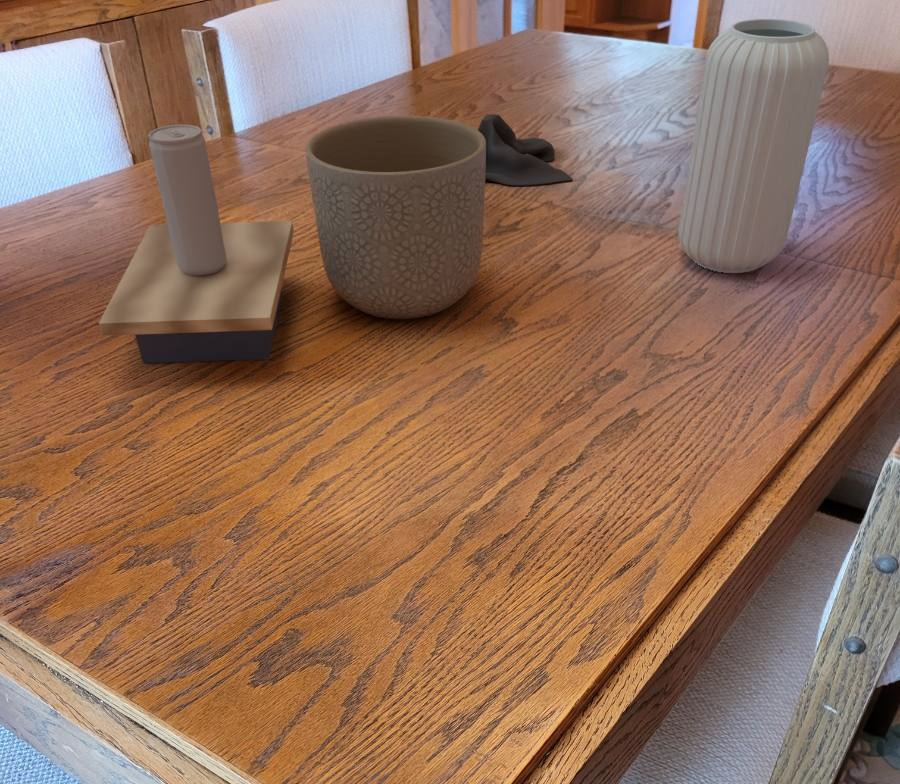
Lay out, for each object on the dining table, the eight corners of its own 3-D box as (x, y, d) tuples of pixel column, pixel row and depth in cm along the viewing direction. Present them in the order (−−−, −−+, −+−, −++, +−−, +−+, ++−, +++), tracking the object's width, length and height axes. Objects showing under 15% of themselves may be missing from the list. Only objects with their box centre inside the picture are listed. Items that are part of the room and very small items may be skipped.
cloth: (398, 180, 120) (396, 130, 116) (444, 137, 133) (443, 90, 129) (561, 196, 115) (564, 145, 111) (592, 150, 127) (596, 102, 123)
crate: (143, 363, 86) (129, 314, 82) (170, 298, 96) (159, 251, 92) (269, 359, 86) (260, 309, 83) (283, 294, 96) (276, 247, 93)
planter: (515, 309, 92) (520, 150, 82) (367, 352, 87) (352, 186, 76) (435, 252, 103) (431, 105, 93) (299, 287, 97) (277, 133, 87)
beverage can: (213, 252, 89) (186, 120, 81) (237, 267, 86) (212, 132, 78) (169, 266, 87) (137, 131, 79) (192, 282, 84) (162, 145, 76)
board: (102, 335, 79) (98, 323, 79) (152, 236, 95) (149, 225, 95) (272, 330, 80) (270, 317, 79) (294, 231, 96) (292, 220, 95)
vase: (653, 257, 101) (685, 27, 86) (717, 230, 106) (759, 9, 91) (737, 291, 95) (788, 49, 79) (801, 260, 100) (861, 27, 84)
